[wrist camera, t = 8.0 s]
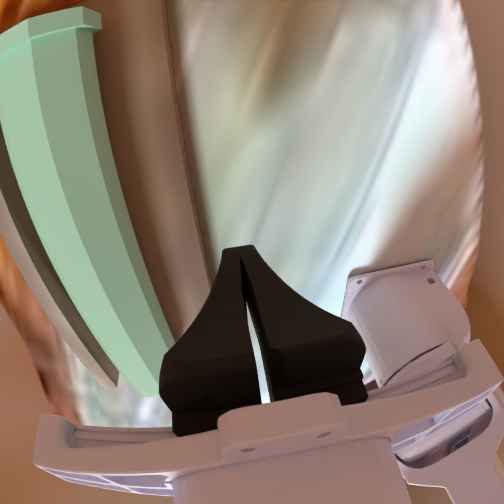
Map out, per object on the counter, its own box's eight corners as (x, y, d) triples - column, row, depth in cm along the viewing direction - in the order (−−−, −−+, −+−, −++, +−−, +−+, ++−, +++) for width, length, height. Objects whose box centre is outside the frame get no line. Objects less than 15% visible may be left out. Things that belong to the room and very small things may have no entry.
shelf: (164, -12, 10) (152, -33, 7) (225, 342, 27) (230, 378, 24) (-7, 58, 10) (-45, 65, 6) (109, 354, 26) (103, 387, 23)
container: (179, 420, 19) (22, 10, 4) (117, 397, 21) (-39, 71, 6) (204, 360, 24) (126, 7, 9) (145, 345, 25) (48, 45, 10)
